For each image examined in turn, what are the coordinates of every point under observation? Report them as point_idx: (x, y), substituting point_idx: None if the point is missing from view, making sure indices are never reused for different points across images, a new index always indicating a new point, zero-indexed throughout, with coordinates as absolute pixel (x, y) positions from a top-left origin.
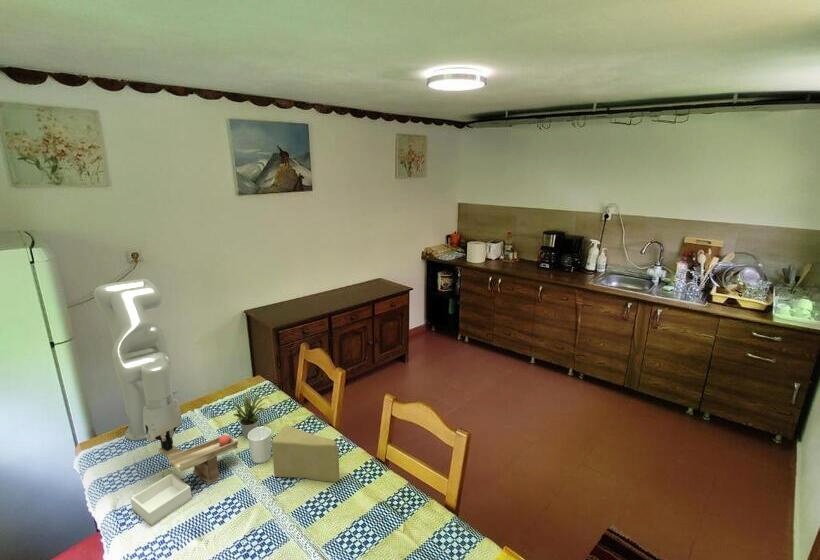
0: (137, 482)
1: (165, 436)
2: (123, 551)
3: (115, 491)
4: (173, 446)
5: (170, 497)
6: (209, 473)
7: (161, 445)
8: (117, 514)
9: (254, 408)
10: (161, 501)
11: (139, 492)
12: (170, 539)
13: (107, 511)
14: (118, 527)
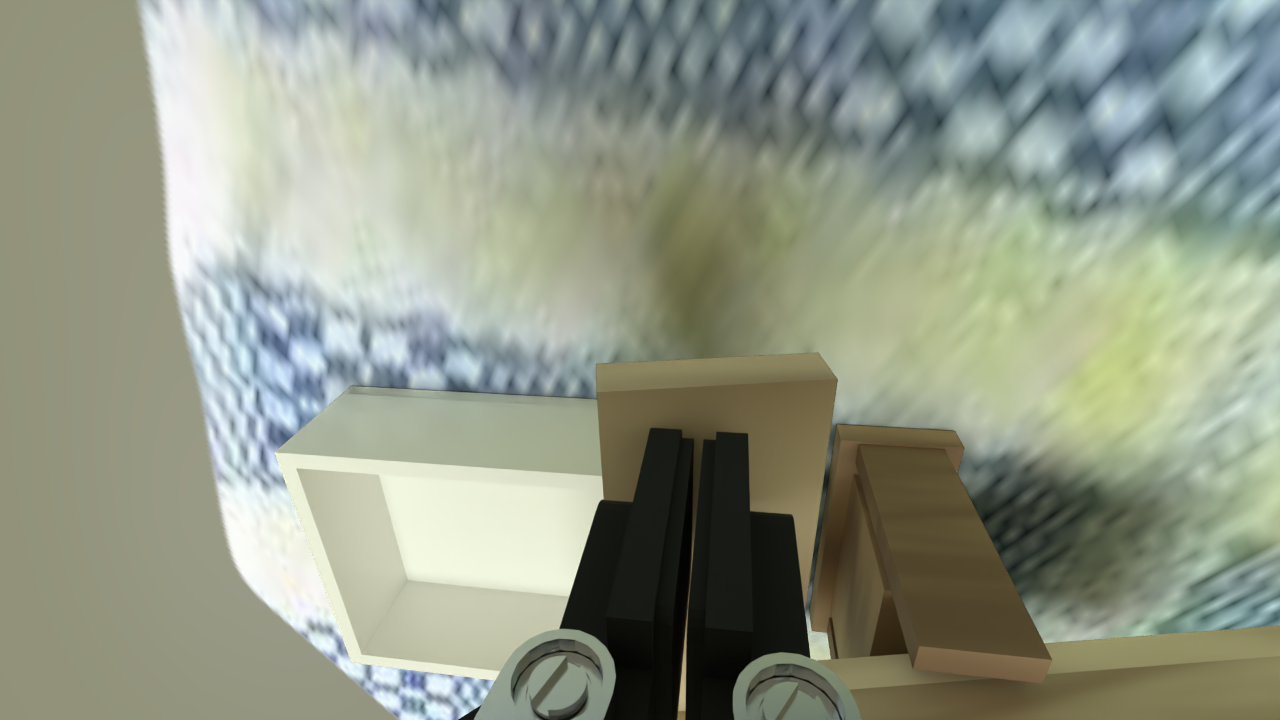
0: (462, 93)
1: (707, 669)
2: (261, 590)
3: (275, 34)
4: (811, 469)
5: (564, 518)
6: None
7: (592, 541)
8: (261, 335)
9: None
10: (506, 499)
11: (344, 457)
12: (446, 697)
13: (204, 243)
14: (256, 442)
